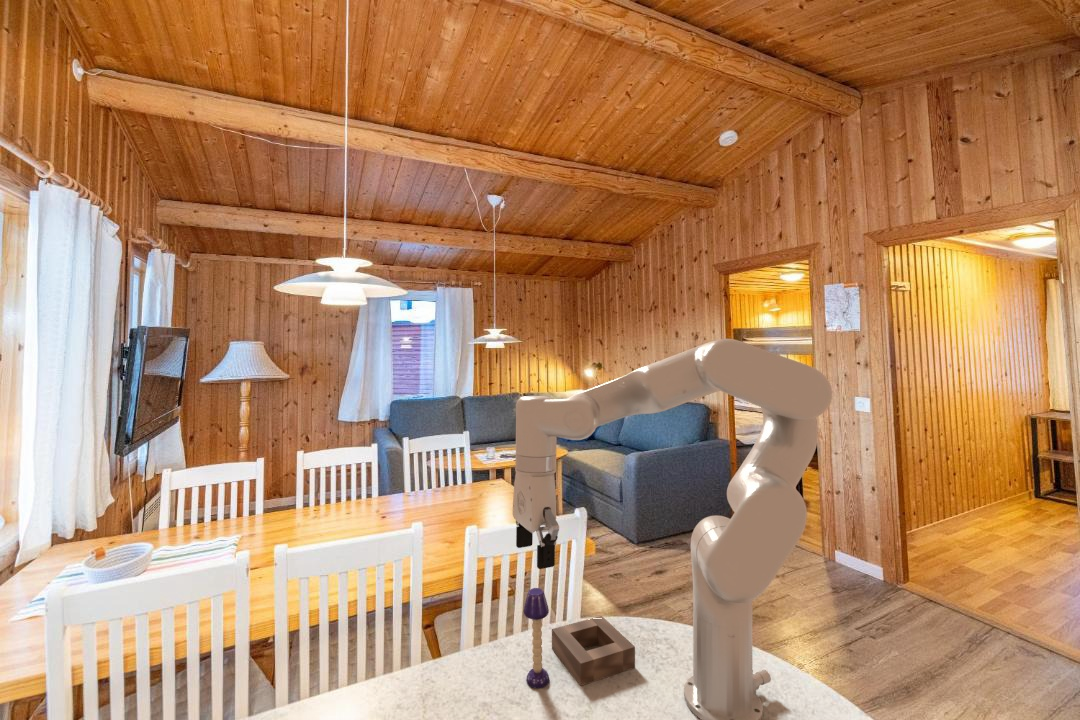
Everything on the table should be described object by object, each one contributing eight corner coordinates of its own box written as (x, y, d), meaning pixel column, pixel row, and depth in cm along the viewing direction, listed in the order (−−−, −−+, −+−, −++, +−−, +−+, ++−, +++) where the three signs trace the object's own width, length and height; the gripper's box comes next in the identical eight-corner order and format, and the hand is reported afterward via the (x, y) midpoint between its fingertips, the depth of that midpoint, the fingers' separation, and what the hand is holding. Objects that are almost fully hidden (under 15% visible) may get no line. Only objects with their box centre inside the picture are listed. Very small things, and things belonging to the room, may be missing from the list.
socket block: (601, 634, 100) (601, 615, 100) (635, 667, 89) (635, 646, 89) (551, 648, 95) (551, 629, 95) (580, 685, 84) (580, 663, 84)
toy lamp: (546, 692, 82) (546, 598, 82) (521, 688, 83) (521, 595, 83) (551, 674, 87) (551, 585, 87) (527, 671, 88) (527, 583, 88)
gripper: (500, 455, 91) (499, 542, 91) (536, 476, 76) (534, 580, 75) (535, 453, 94) (534, 536, 94) (576, 472, 79) (575, 572, 79)
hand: (534, 556), depth 85 cm, fingers open, 9 cm apart
